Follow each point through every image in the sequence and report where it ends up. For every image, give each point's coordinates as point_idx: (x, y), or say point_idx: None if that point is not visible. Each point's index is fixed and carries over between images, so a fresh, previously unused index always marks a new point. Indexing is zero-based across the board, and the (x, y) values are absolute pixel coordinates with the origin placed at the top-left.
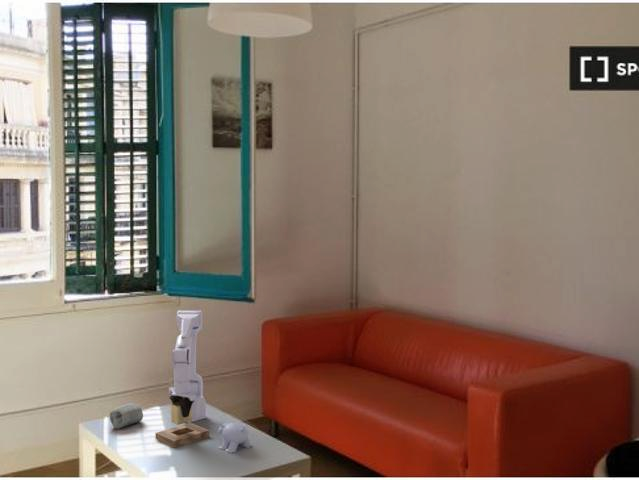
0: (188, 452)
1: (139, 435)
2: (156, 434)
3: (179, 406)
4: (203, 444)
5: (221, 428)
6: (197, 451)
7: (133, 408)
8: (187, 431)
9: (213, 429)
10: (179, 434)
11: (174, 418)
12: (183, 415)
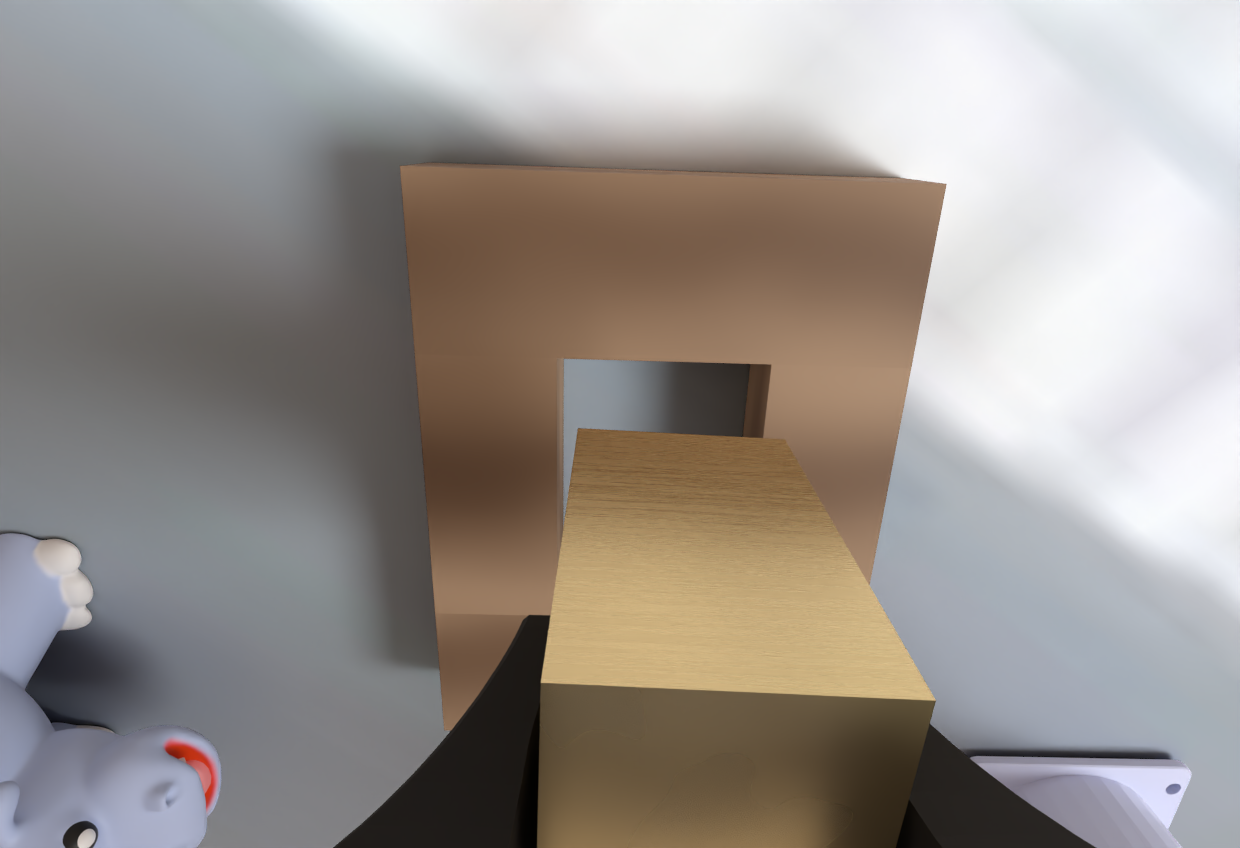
0: (141, 191)
1: (1235, 109)
2: (907, 182)
3: (539, 748)
4: (287, 493)
5: (95, 787)
6: (107, 300)
7: None
8: None
9: None
10: None
11: (692, 479)
12: (531, 632)
